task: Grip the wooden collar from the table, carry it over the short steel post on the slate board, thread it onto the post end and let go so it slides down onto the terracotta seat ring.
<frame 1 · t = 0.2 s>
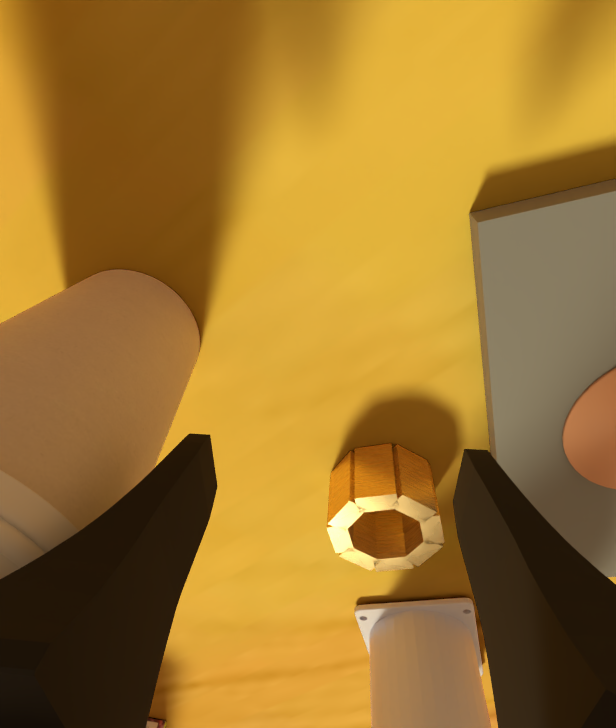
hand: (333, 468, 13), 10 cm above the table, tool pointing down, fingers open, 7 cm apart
coffee cup: (136, 330, 23), on the table
wooden collar: (382, 482, 26), on the table
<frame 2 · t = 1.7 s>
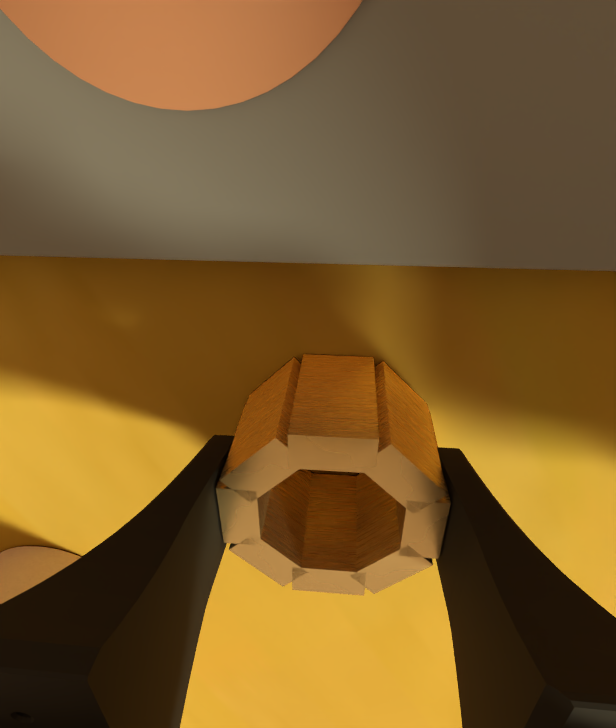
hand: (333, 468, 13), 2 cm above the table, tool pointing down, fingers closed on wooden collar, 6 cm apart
coffee cup: (62, 589, 21), on the table
wooden collar: (335, 432, 15), on the table, touching gripper
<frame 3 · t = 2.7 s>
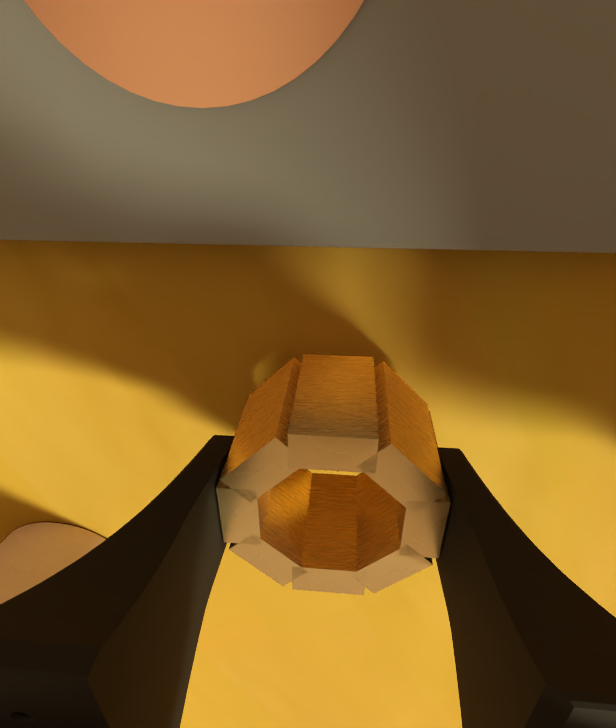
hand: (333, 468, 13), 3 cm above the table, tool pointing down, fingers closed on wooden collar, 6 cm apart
coffee cup: (75, 565, 22), on the table
wooden collar: (335, 432, 15), point 1 cm above the table, touching gripper
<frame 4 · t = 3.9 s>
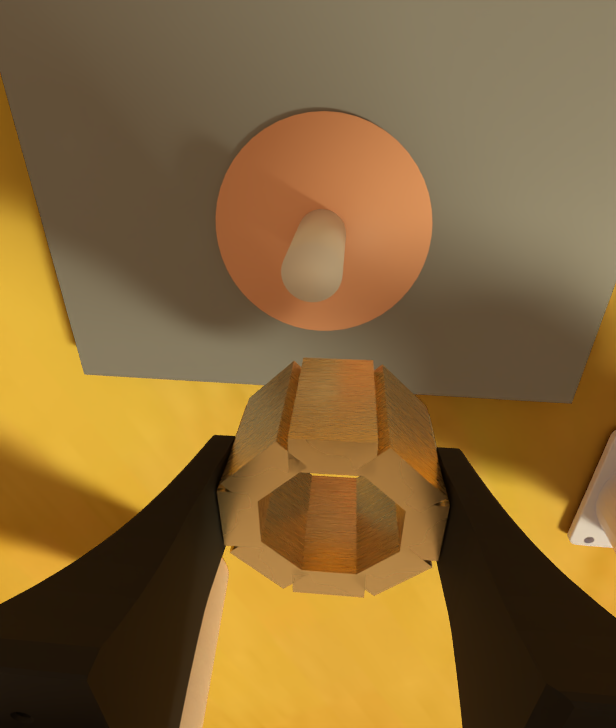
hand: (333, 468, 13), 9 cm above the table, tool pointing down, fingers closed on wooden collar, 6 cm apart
post board: (324, 222, 19), on the table
coffee cup: (182, 564, 31), on the table
wooden collar: (335, 435, 15), point 7 cm above the table, touching gripper
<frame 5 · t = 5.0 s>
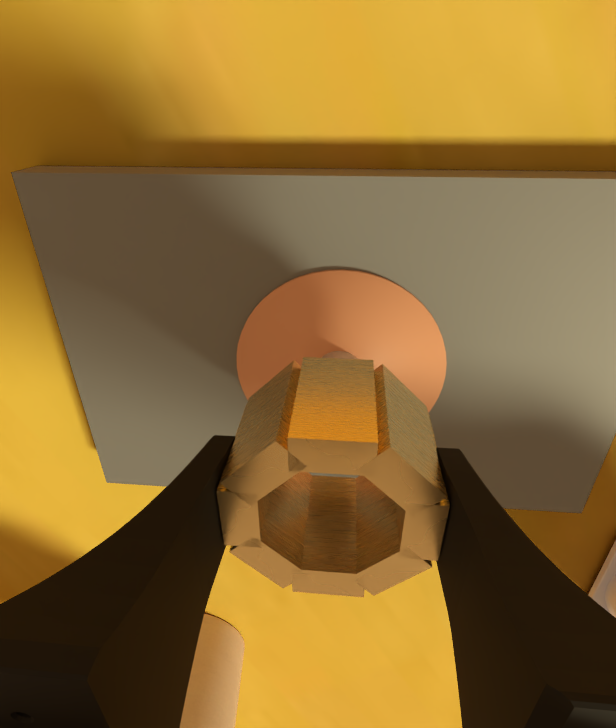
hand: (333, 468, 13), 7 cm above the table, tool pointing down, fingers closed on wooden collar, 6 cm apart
post board: (340, 349, 19), on the table
coffee cup: (198, 635, 32), on the table
wooden collar: (335, 434, 15), point 5 cm above the table, touching gripper
when the fingers open (7 cm above the table, at t = 5.9 s): wooden collar drops 4 cm, resting on post board.
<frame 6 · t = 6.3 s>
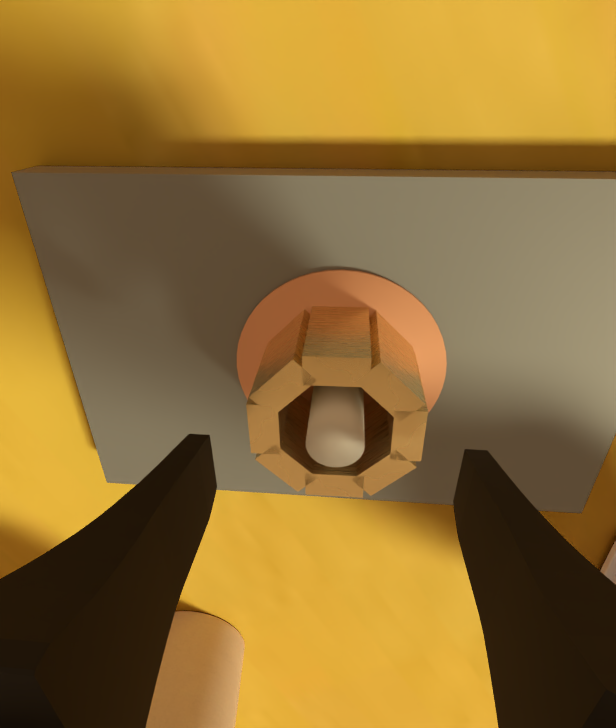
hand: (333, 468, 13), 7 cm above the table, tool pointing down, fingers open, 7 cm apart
post board: (340, 349, 19), on the table
coffee cup: (198, 635, 32), on the table
wooden collar: (338, 373, 18), point 2 cm above the table, touching post board
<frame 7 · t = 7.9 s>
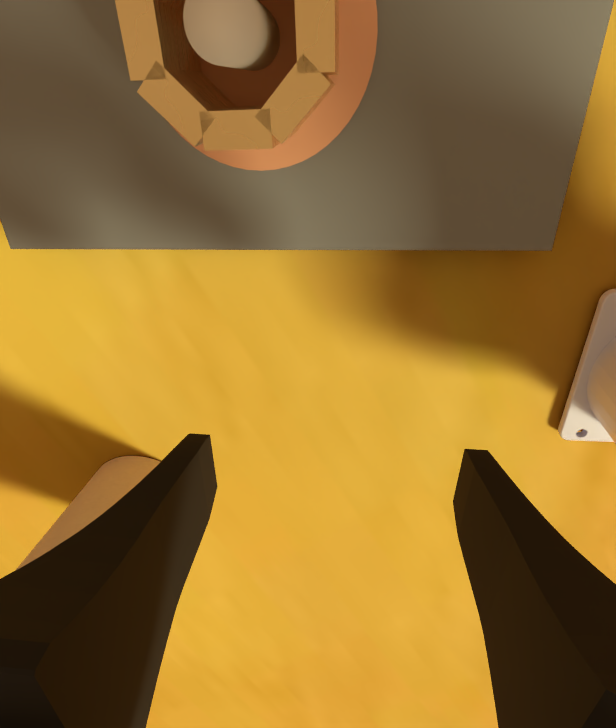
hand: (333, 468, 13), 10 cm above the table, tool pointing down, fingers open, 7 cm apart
post board: (261, 42, 16), on the table
coffee cup: (147, 492, 29), on the table
wooden collar: (252, 42, 15), point 2 cm above the table, touching post board
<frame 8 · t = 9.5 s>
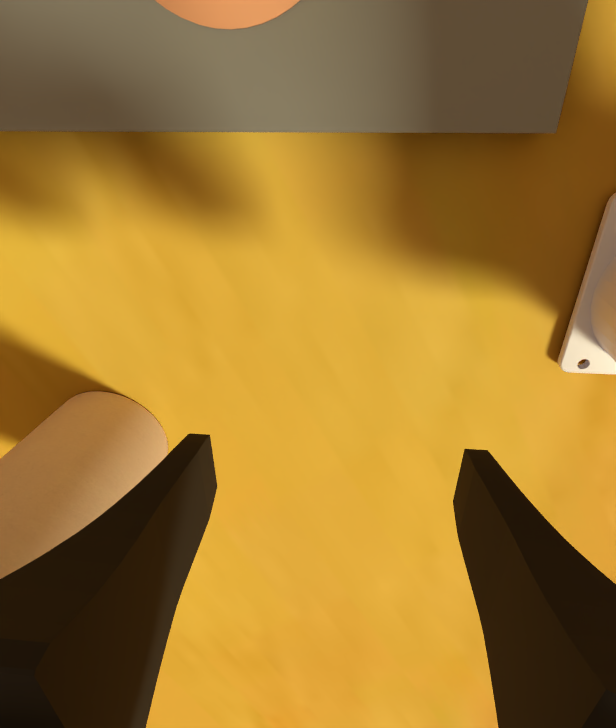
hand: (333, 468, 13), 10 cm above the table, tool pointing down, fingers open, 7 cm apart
coffee cup: (114, 435, 27), on the table
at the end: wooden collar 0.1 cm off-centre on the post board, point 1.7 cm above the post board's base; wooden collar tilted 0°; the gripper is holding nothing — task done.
